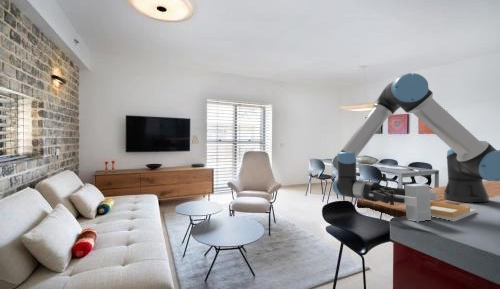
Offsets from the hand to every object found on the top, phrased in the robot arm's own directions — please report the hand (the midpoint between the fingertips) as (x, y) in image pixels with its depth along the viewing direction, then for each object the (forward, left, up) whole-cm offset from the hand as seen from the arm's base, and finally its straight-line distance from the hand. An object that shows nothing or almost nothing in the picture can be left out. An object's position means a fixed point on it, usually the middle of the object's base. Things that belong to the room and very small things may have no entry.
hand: (427, 199), depth 81 cm
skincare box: (0, -3, -8) cm, 8 cm away
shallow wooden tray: (-16, -2, -8) cm, 18 cm away
